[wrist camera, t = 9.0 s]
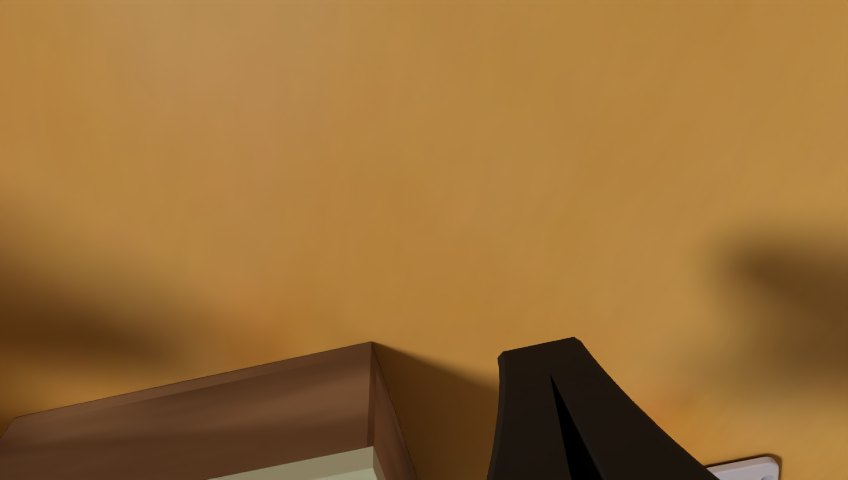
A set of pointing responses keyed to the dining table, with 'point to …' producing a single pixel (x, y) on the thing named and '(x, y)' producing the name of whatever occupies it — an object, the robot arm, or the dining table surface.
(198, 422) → the walnut box
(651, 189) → the dining table surface
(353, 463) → the lid
